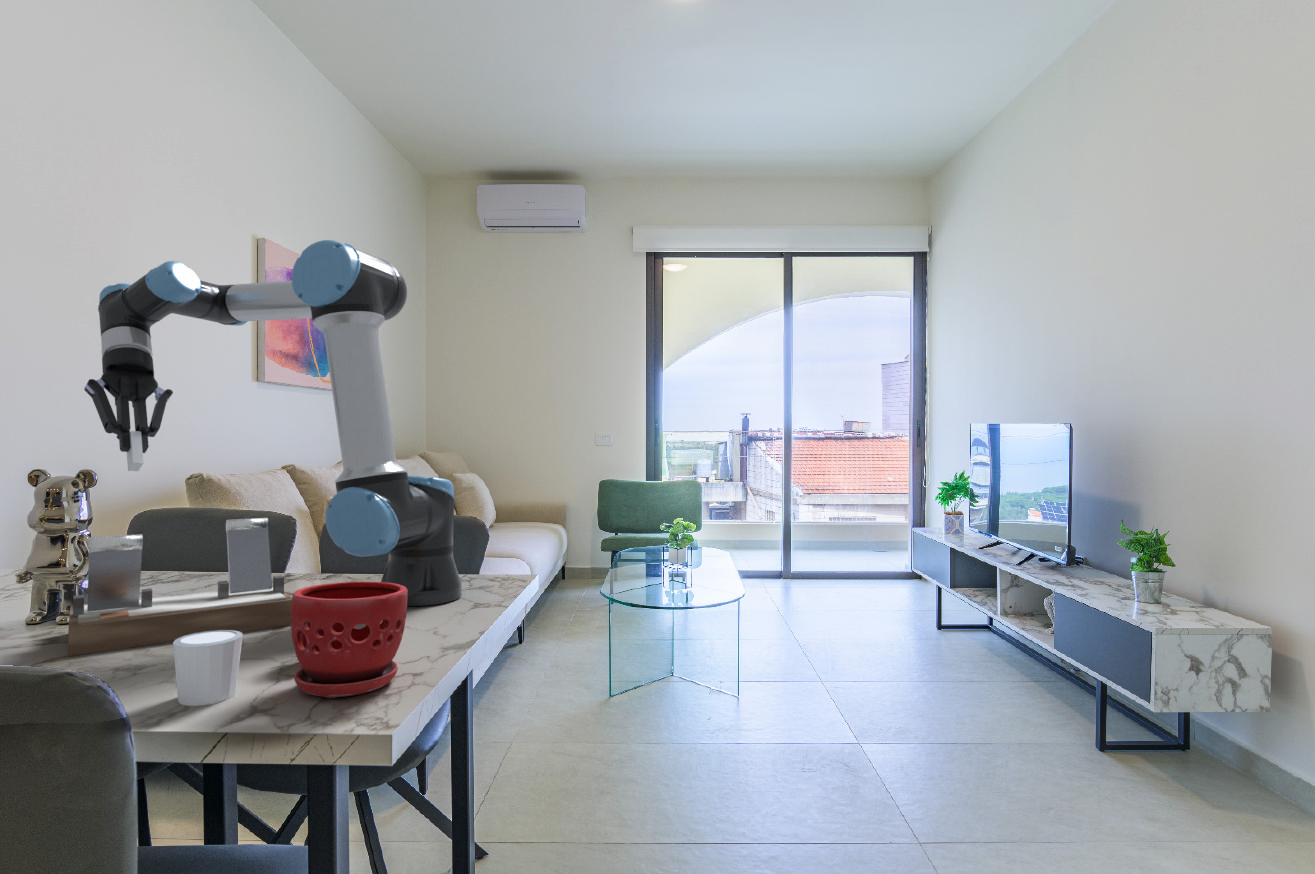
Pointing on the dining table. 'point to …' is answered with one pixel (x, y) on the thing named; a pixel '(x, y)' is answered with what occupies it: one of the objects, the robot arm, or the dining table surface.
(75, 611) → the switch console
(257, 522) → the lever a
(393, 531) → the robot arm
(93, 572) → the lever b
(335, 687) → the plant pot
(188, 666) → the white cup
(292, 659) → the dining table surface
